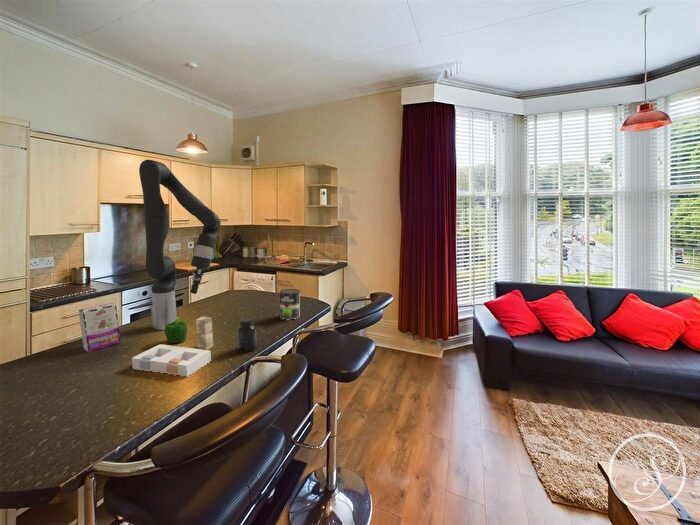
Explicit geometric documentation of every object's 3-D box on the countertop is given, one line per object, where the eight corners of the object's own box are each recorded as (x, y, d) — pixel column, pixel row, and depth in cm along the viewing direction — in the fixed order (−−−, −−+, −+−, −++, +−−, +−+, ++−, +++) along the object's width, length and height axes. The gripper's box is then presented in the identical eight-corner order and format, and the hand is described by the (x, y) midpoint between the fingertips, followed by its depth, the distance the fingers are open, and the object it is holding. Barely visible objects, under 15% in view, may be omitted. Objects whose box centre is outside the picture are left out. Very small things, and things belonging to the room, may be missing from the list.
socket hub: (131, 369, 110) (130, 357, 109) (160, 354, 122) (159, 343, 121) (186, 377, 105) (185, 365, 104) (211, 361, 117) (210, 349, 116)
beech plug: (197, 348, 127) (196, 319, 125) (204, 344, 131) (203, 316, 129) (206, 349, 126) (204, 320, 124) (213, 345, 130) (211, 317, 128)
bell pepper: (176, 346, 129) (174, 322, 127) (161, 343, 132) (159, 320, 130) (193, 339, 137) (191, 316, 135) (178, 336, 139) (177, 314, 138)
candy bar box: (115, 340, 134) (111, 302, 132) (121, 343, 132) (117, 304, 129) (82, 349, 125) (77, 309, 122) (88, 352, 122) (83, 311, 120)
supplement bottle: (249, 344, 132) (248, 316, 131) (260, 348, 129) (259, 319, 127) (234, 349, 127) (233, 320, 125) (246, 354, 123) (244, 324, 121)
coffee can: (296, 321, 161) (296, 293, 159) (277, 319, 163) (276, 292, 161) (302, 314, 171) (302, 289, 169) (284, 313, 173) (283, 288, 171)
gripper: (192, 256, 145) (183, 291, 143) (193, 253, 133) (183, 292, 130) (210, 260, 149) (201, 294, 146) (213, 257, 136) (203, 295, 134)
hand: (193, 293), depth 138 cm, fingers open, 8 cm apart
